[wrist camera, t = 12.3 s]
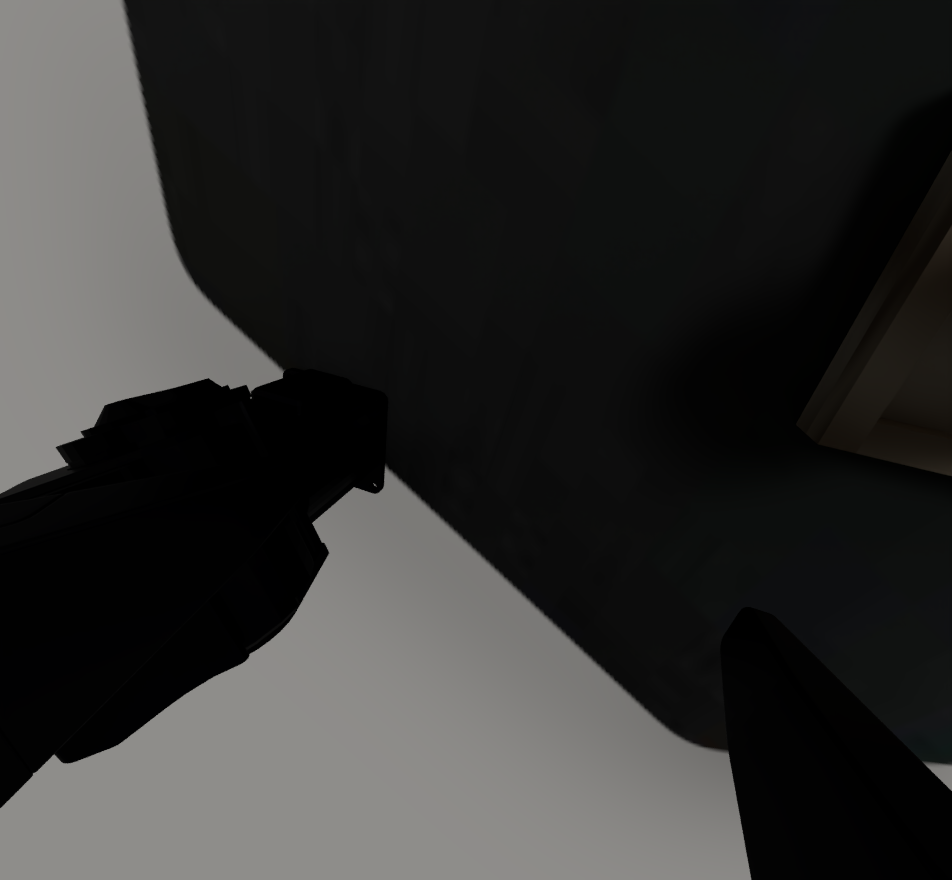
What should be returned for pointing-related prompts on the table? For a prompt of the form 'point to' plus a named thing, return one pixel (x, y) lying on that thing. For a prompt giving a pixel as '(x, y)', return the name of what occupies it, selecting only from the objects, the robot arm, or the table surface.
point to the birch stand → (898, 353)
